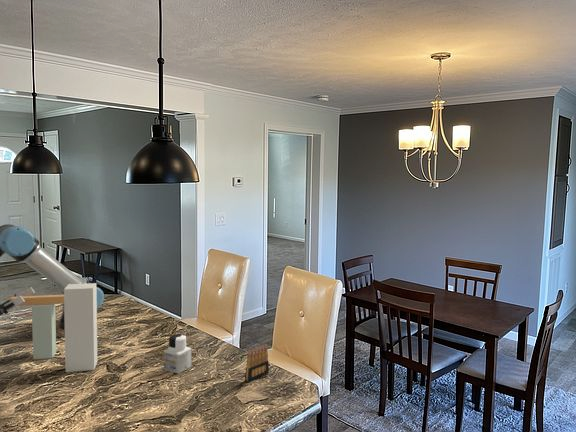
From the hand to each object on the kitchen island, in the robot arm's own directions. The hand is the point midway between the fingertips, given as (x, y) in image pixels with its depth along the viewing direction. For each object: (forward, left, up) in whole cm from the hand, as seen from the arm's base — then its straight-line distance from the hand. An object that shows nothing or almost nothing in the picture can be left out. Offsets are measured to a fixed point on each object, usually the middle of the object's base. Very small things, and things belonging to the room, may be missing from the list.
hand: (28, 294), depth 175 cm
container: (+23, +58, -26) cm, 68 cm away
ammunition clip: (+37, +87, -27) cm, 98 cm away
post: (+14, +22, -26) cm, 37 cm away
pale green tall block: (0, +6, -26) cm, 27 cm away
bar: (0, +4, -4) cm, 6 cm away
